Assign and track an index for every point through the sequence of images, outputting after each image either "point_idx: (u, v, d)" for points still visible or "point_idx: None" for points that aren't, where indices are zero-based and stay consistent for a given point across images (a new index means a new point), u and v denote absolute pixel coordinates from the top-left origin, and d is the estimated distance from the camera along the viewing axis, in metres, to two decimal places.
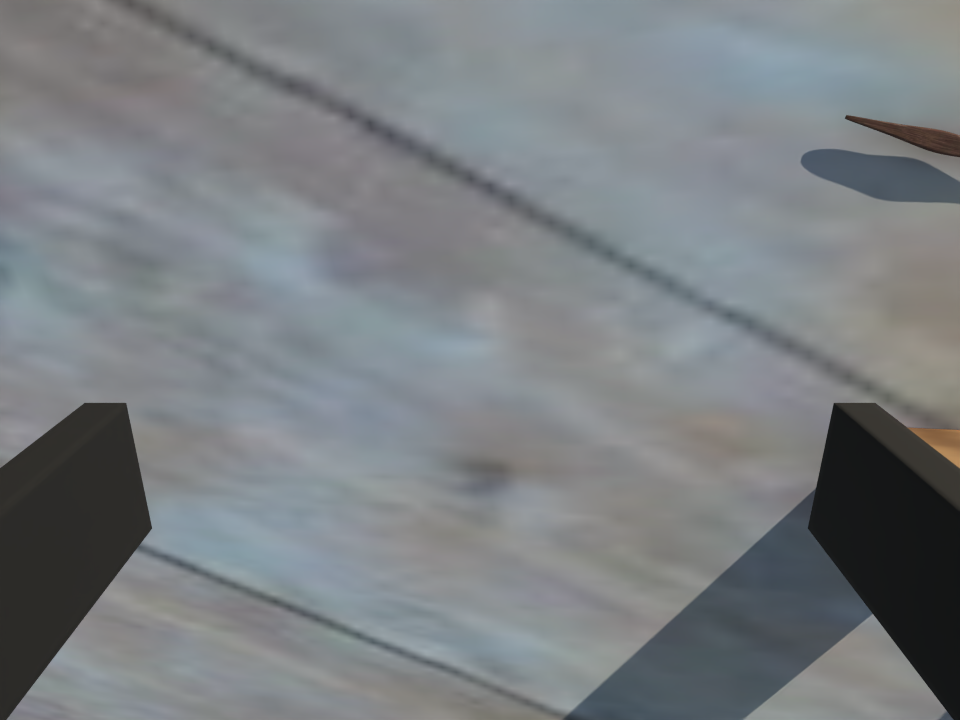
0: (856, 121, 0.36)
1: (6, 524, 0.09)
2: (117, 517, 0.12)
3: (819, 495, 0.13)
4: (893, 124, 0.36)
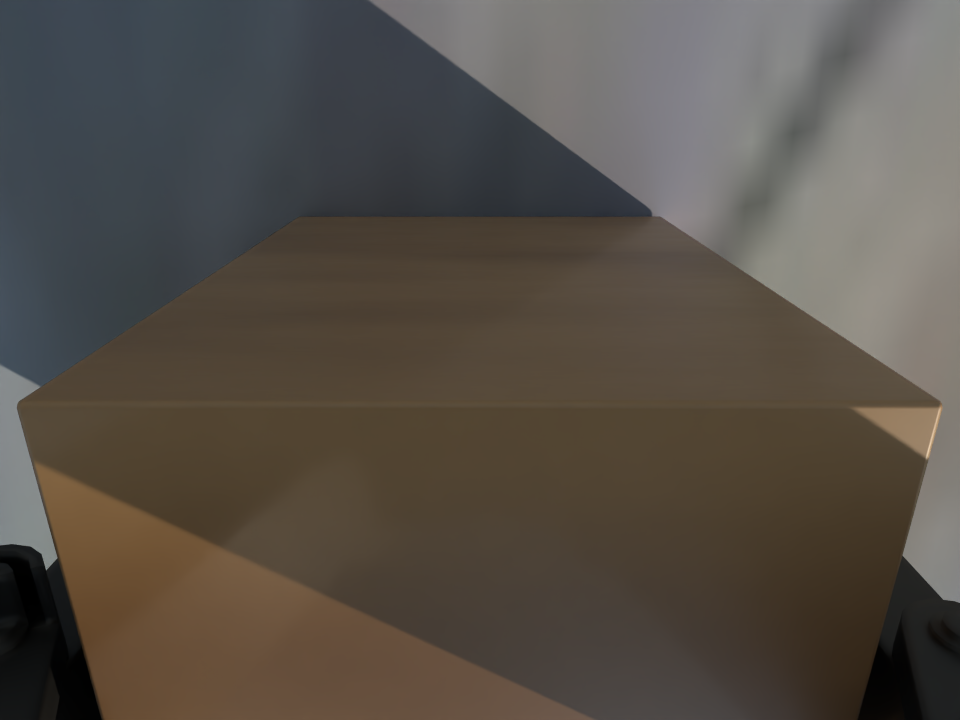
0: None
1: None
2: None
3: None
4: None
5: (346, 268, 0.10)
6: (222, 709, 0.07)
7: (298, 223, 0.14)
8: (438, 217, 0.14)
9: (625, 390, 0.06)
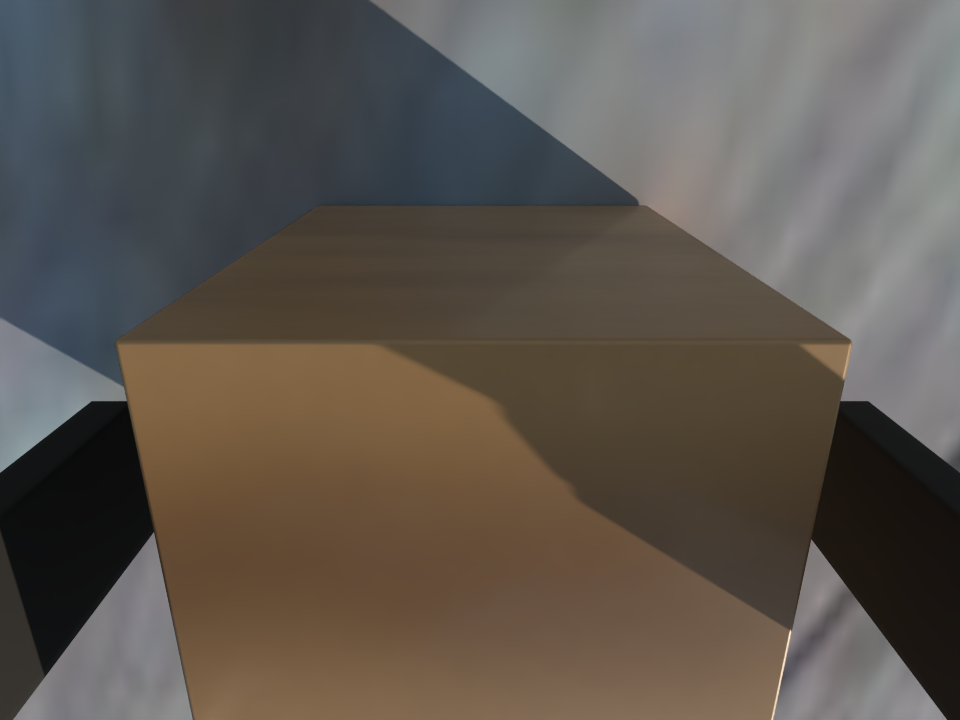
0: None
1: (16, 521, 0.09)
2: (124, 515, 0.12)
3: None
4: None
5: (365, 246, 0.11)
6: (270, 603, 0.08)
7: (318, 211, 0.15)
8: (444, 206, 0.16)
9: (601, 331, 0.07)
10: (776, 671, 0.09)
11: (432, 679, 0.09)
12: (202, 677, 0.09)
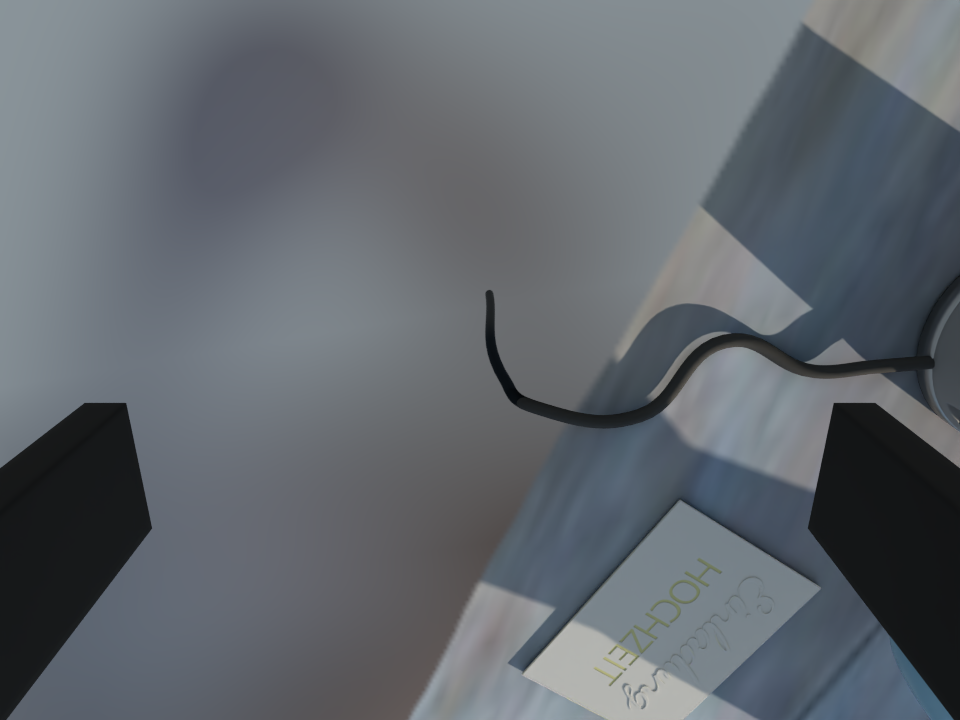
0: None
1: (6, 524, 0.09)
2: (117, 517, 0.12)
3: (819, 495, 0.13)
4: None
5: None
6: None
7: None
8: None
9: None
10: None
11: None
12: None
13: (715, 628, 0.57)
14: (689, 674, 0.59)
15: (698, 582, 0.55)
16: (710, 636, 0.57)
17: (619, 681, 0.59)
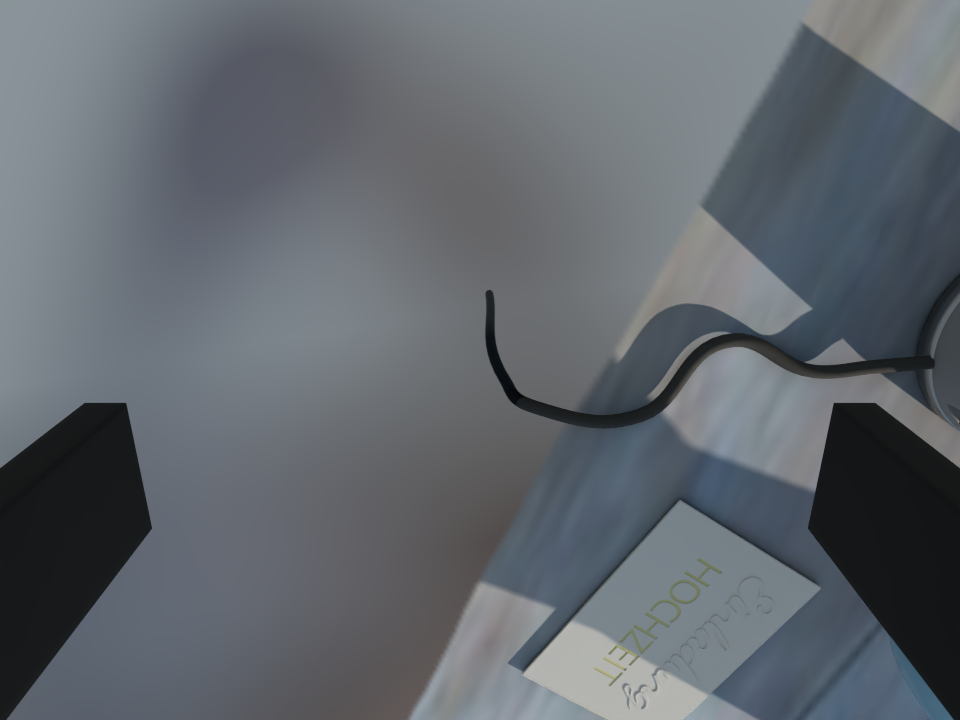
0: None
1: (6, 524, 0.09)
2: (117, 517, 0.12)
3: (819, 495, 0.13)
4: None
5: None
6: None
7: None
8: None
9: None
10: None
11: None
12: None
13: (715, 628, 0.57)
14: (689, 674, 0.59)
15: (698, 582, 0.55)
16: (710, 636, 0.57)
17: (619, 681, 0.59)
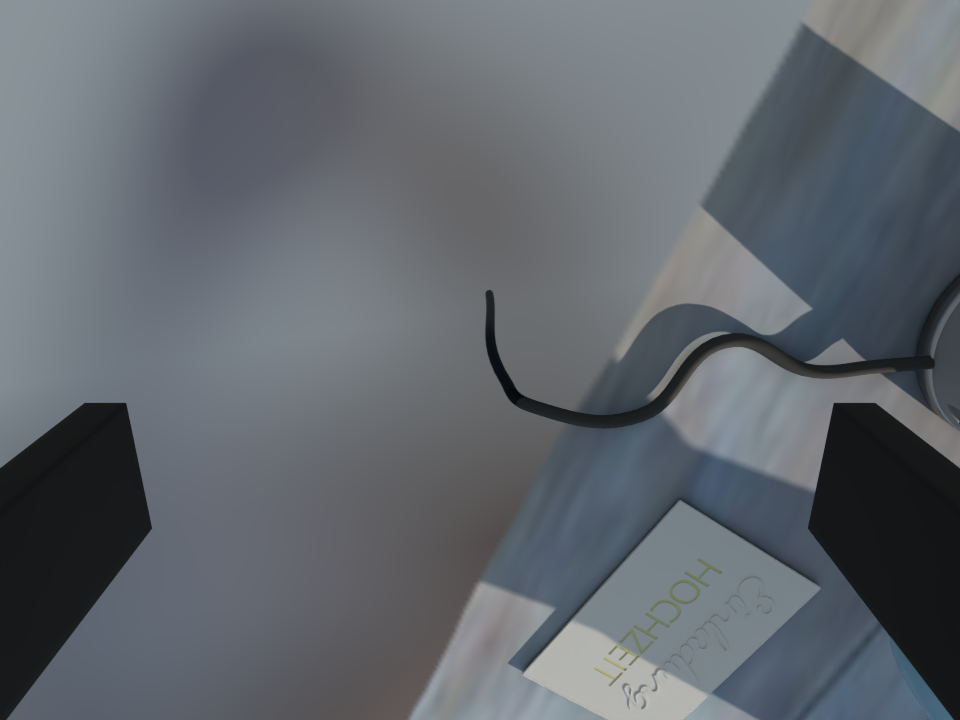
0: None
1: (6, 524, 0.09)
2: (117, 517, 0.12)
3: (819, 495, 0.13)
4: None
5: None
6: None
7: None
8: None
9: None
10: None
11: None
12: None
13: (715, 628, 0.57)
14: (689, 674, 0.59)
15: (698, 582, 0.55)
16: (710, 636, 0.57)
17: (619, 681, 0.59)
